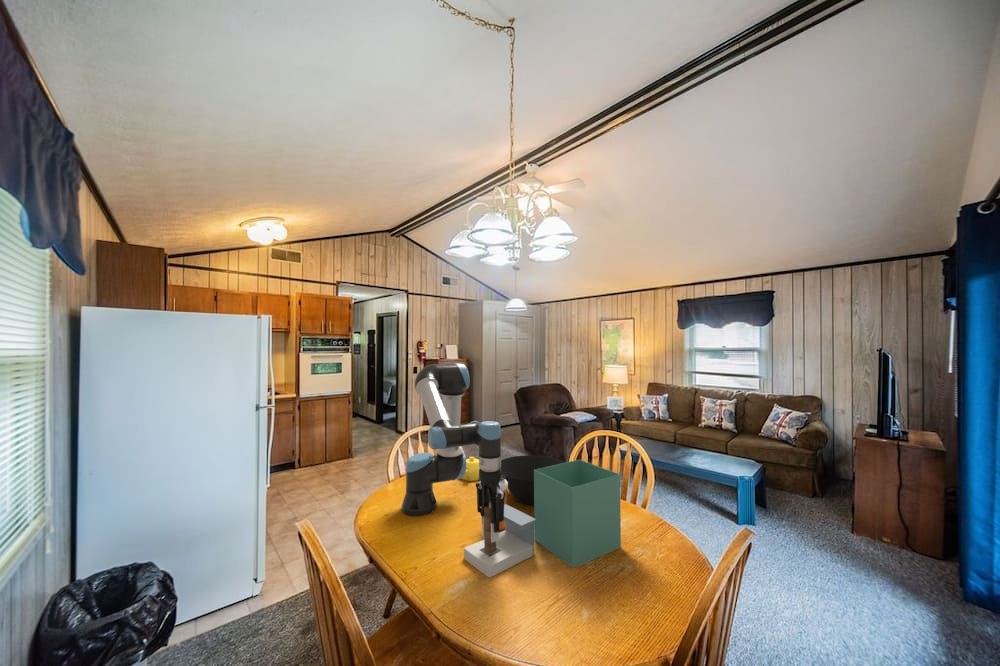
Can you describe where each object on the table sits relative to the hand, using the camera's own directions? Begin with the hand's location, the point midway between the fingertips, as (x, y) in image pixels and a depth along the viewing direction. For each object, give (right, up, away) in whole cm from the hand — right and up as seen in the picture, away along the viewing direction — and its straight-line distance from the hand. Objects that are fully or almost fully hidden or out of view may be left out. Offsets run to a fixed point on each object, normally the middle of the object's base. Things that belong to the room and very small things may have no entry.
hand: (490, 538), depth 127 cm
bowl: (+19, -9, +51) cm, 55 cm away
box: (+31, -8, +11) cm, 34 cm away
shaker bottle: (+2, -9, +24) cm, 25 cm away
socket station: (+3, -8, +2) cm, 9 cm away
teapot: (-12, -10, +77) cm, 78 cm away
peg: (0, -4, 0) cm, 4 cm away
